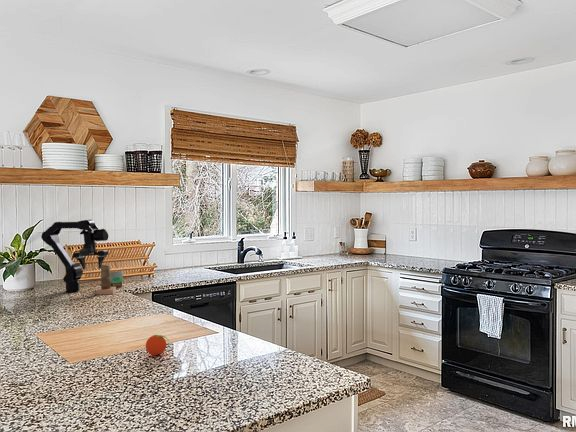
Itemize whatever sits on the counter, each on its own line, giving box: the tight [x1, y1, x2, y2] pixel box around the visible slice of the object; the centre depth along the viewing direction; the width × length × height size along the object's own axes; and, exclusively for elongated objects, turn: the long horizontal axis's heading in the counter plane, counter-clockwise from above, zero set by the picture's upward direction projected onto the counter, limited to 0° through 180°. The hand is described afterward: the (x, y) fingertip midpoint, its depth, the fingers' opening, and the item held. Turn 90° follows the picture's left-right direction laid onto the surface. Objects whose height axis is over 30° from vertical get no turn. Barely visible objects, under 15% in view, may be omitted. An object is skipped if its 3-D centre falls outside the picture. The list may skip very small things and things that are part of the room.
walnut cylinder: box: [100, 264, 111, 289], centre depth 283 cm, size 5×5×13 cm
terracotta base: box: [95, 286, 117, 295], centre depth 283 cm, size 9×9×2 cm
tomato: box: [145, 334, 170, 356], centre depth 172 cm, size 8×7×7 cm
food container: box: [110, 269, 125, 289], centre depth 298 cm, size 12×6×10 cm, turn 143°
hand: (92, 269), depth 285 cm, fingers open, 9 cm apart
